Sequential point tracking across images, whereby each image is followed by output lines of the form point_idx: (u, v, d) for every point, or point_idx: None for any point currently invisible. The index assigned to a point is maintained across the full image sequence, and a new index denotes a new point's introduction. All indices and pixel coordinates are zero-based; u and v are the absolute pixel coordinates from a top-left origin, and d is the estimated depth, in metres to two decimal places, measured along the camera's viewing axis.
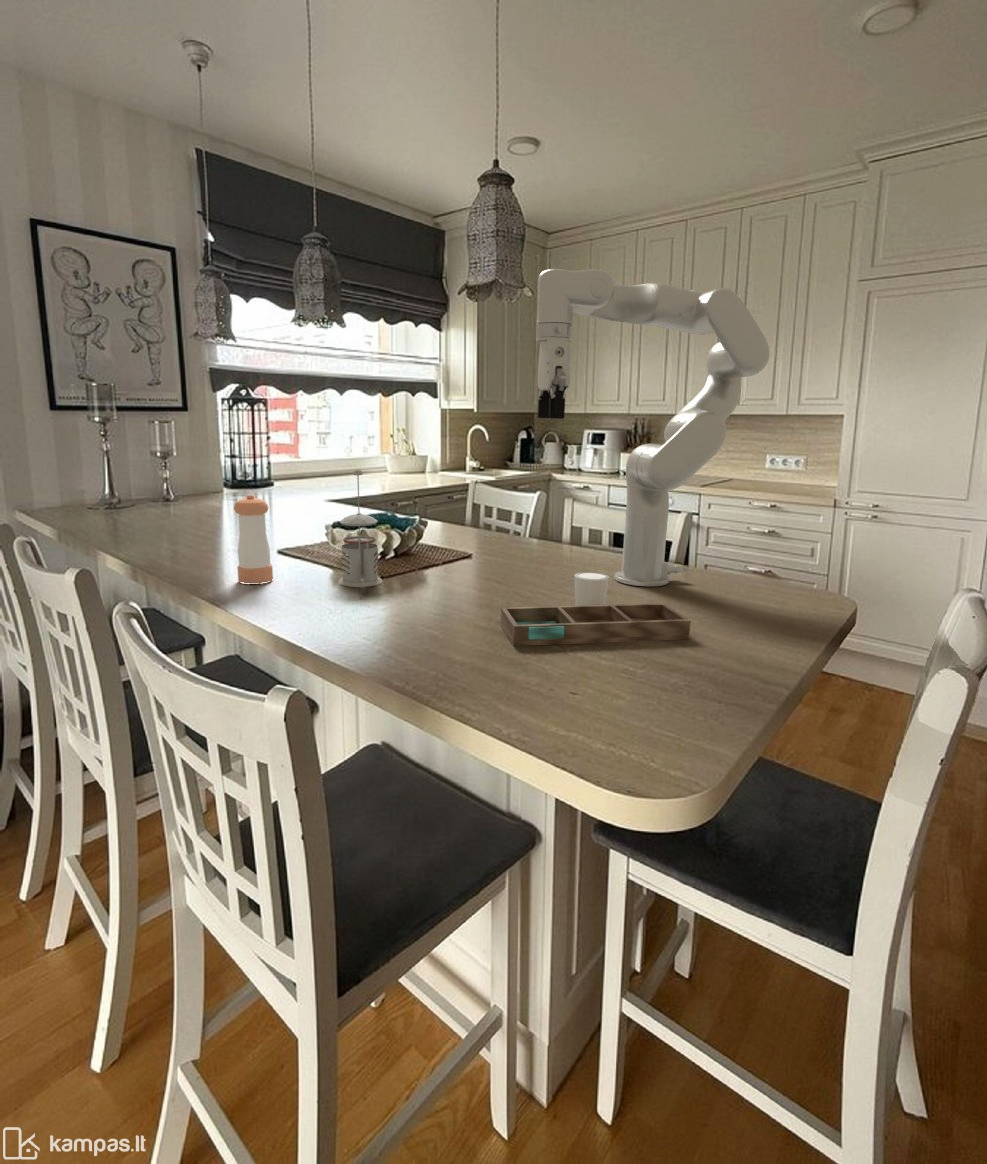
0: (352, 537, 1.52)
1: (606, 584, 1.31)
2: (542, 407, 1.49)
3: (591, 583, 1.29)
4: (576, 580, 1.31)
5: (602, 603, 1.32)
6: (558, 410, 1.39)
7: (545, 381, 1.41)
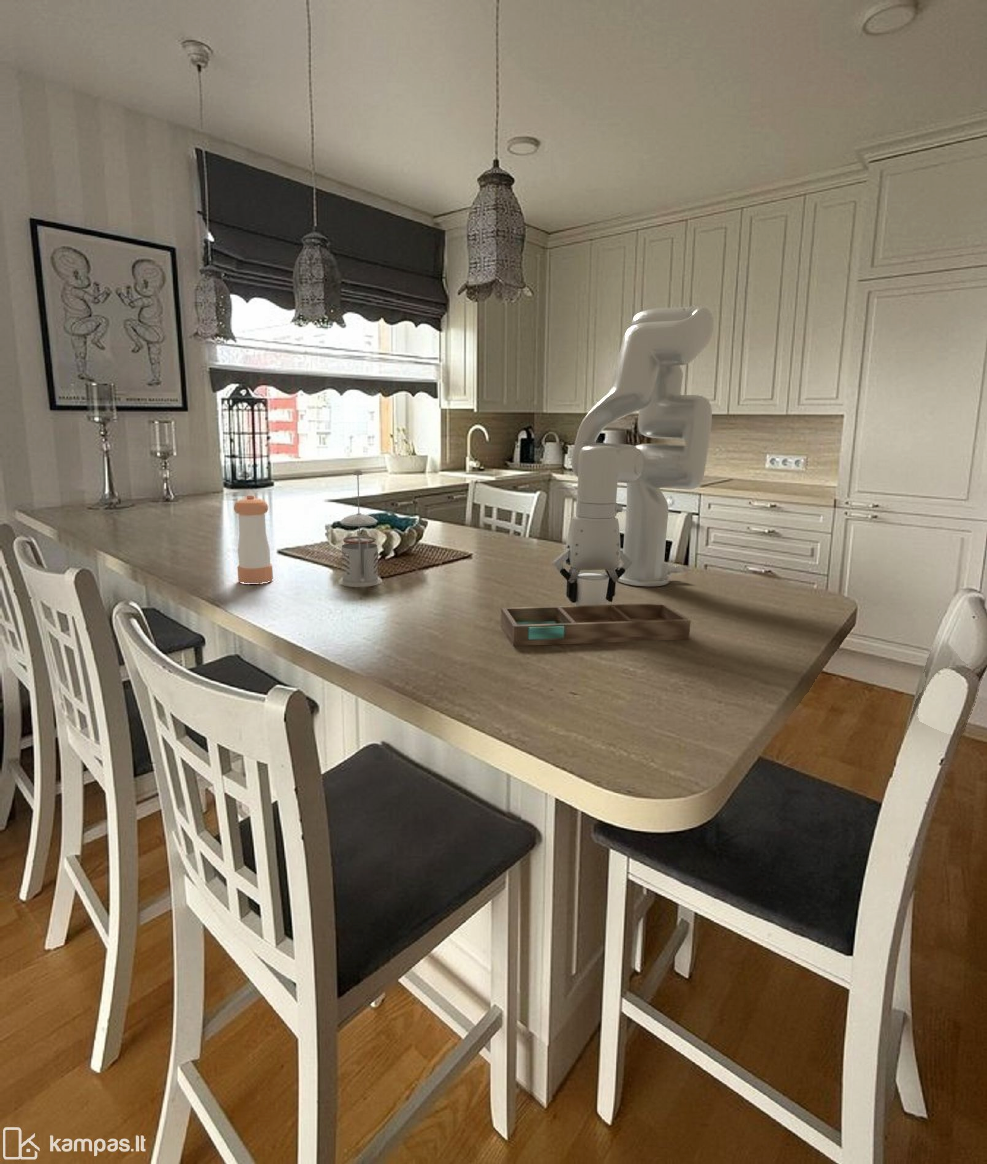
0: (352, 537, 1.52)
1: (606, 584, 1.31)
2: None
3: (591, 583, 1.29)
4: (576, 580, 1.31)
5: (602, 603, 1.32)
6: None
7: (608, 562, 1.30)
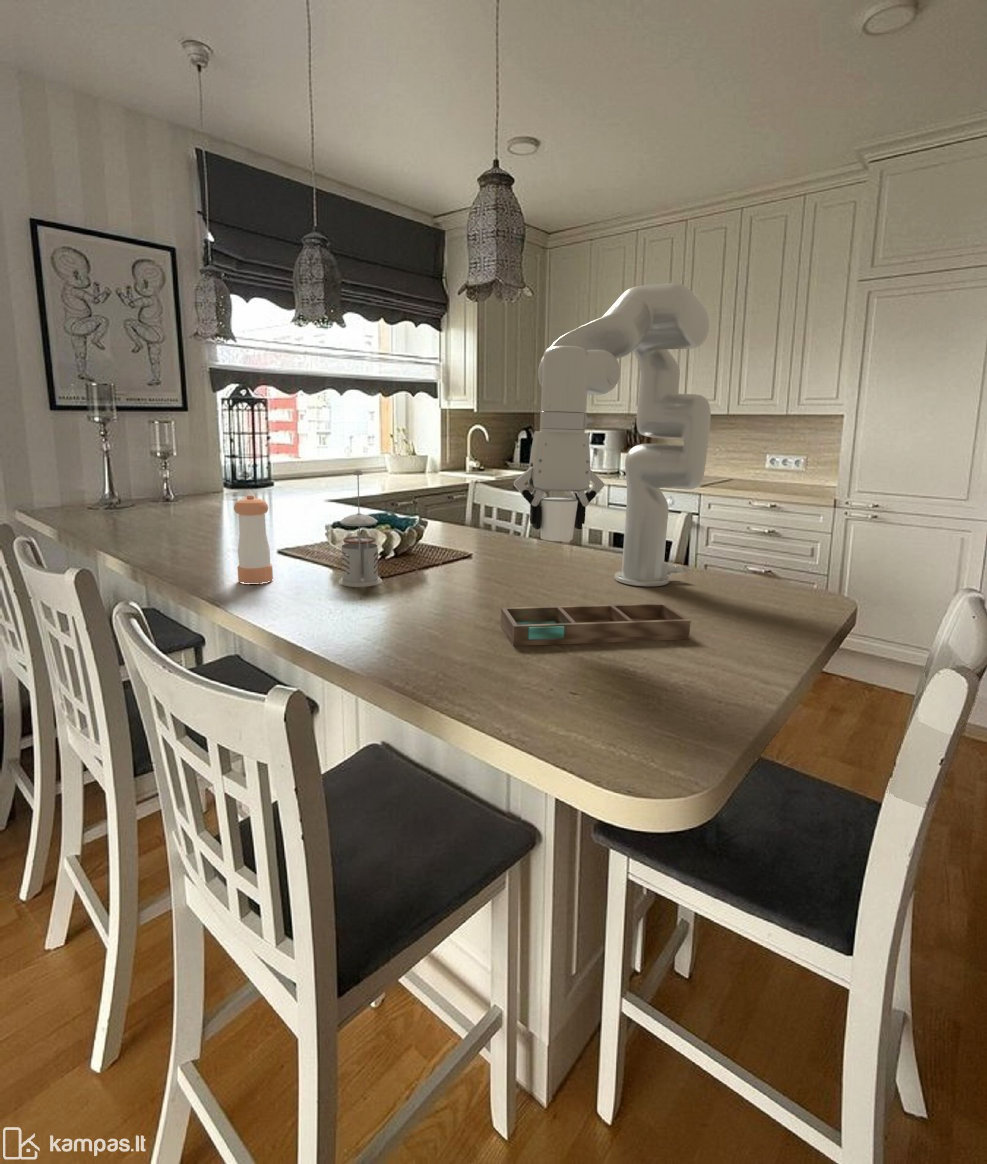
0: (352, 537, 1.52)
1: (574, 507, 1.15)
2: None
3: (557, 505, 1.13)
4: (540, 503, 1.16)
5: (570, 529, 1.16)
6: None
7: (577, 482, 1.14)
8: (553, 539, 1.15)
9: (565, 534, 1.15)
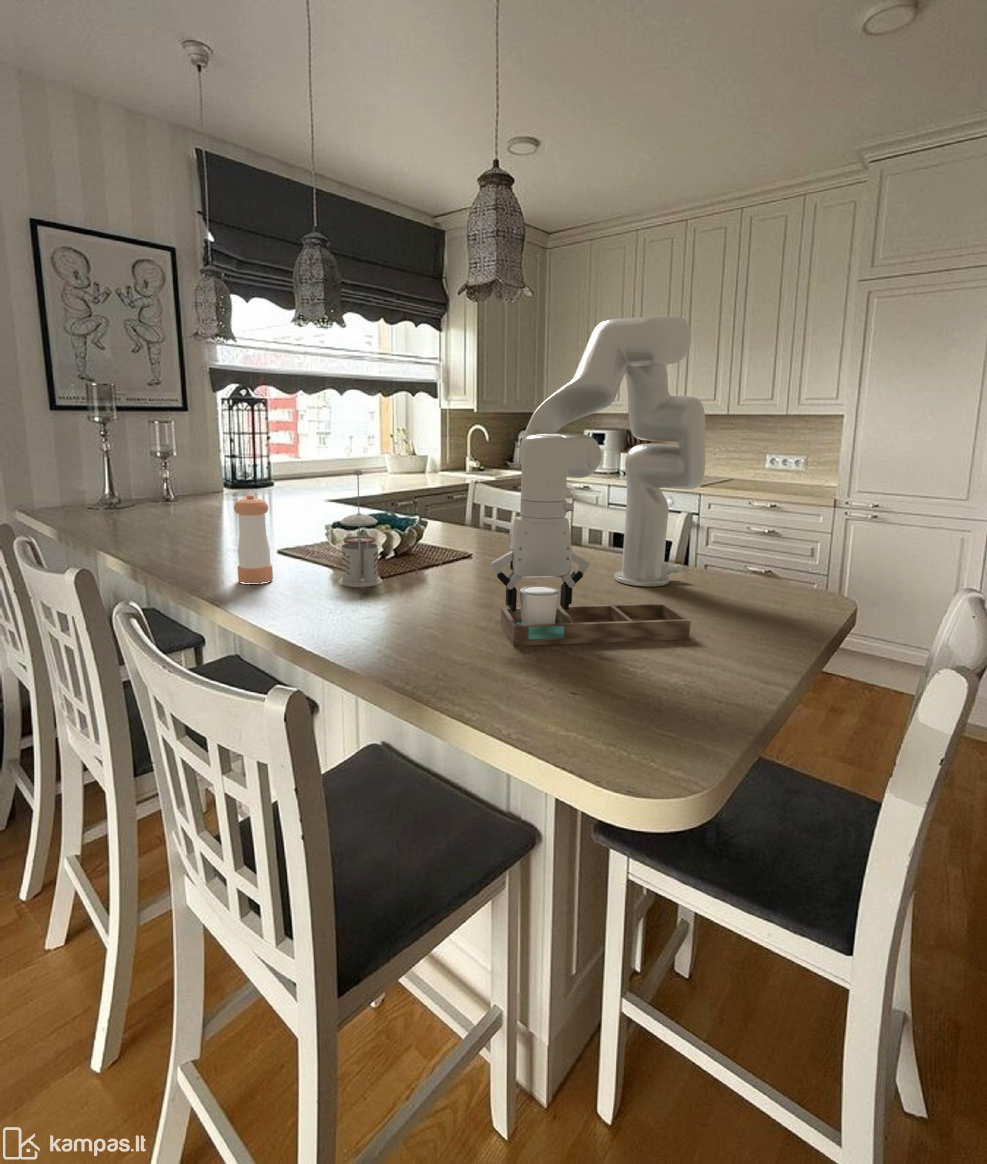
0: (352, 537, 1.52)
1: (555, 600, 1.15)
2: None
3: (537, 599, 1.13)
4: (521, 595, 1.15)
5: (551, 621, 1.16)
6: None
7: (558, 568, 1.13)
8: None
9: None
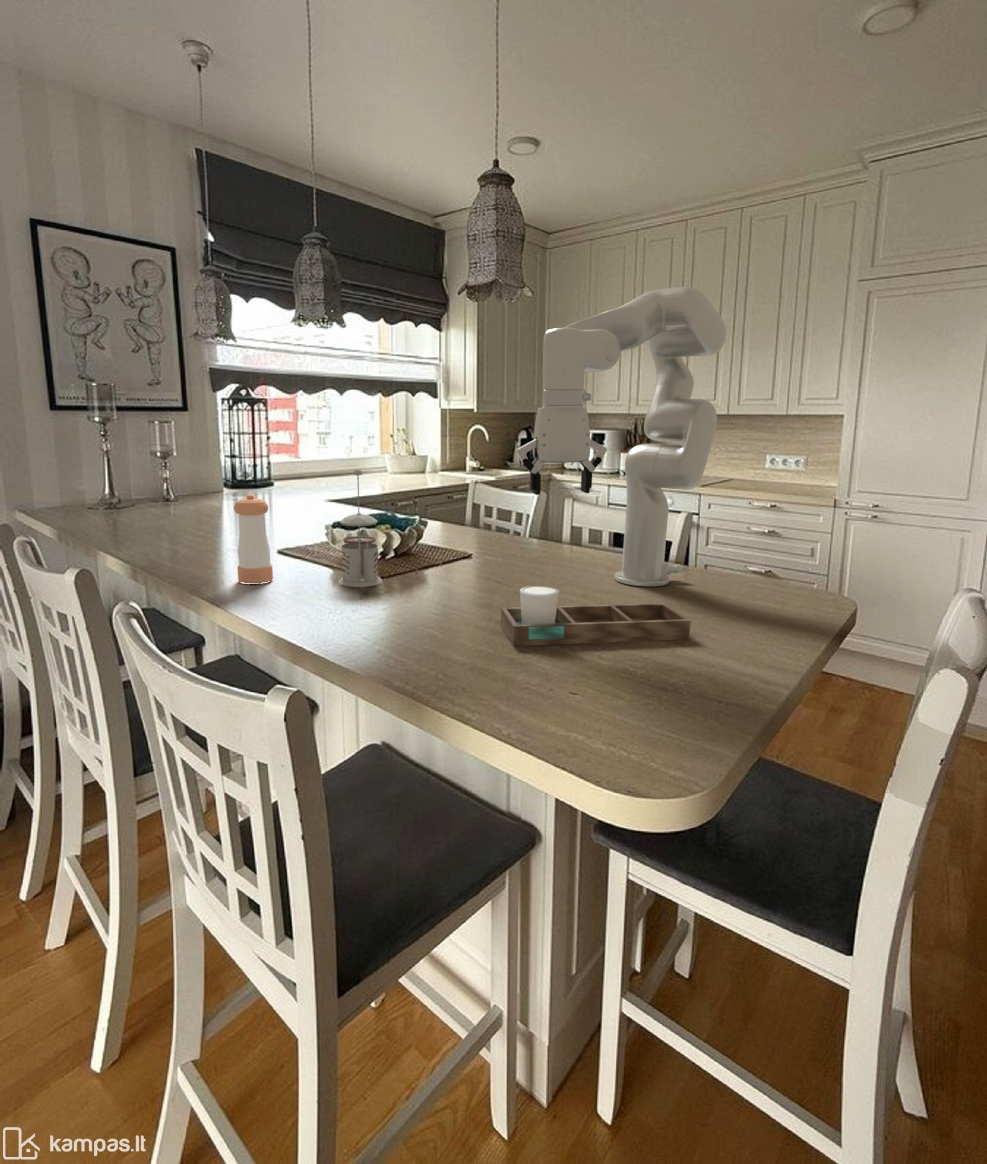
0: (352, 537, 1.52)
1: (555, 600, 1.15)
2: None
3: (537, 599, 1.13)
4: (521, 595, 1.15)
5: (551, 621, 1.16)
6: None
7: (578, 453, 1.24)
8: None
9: None
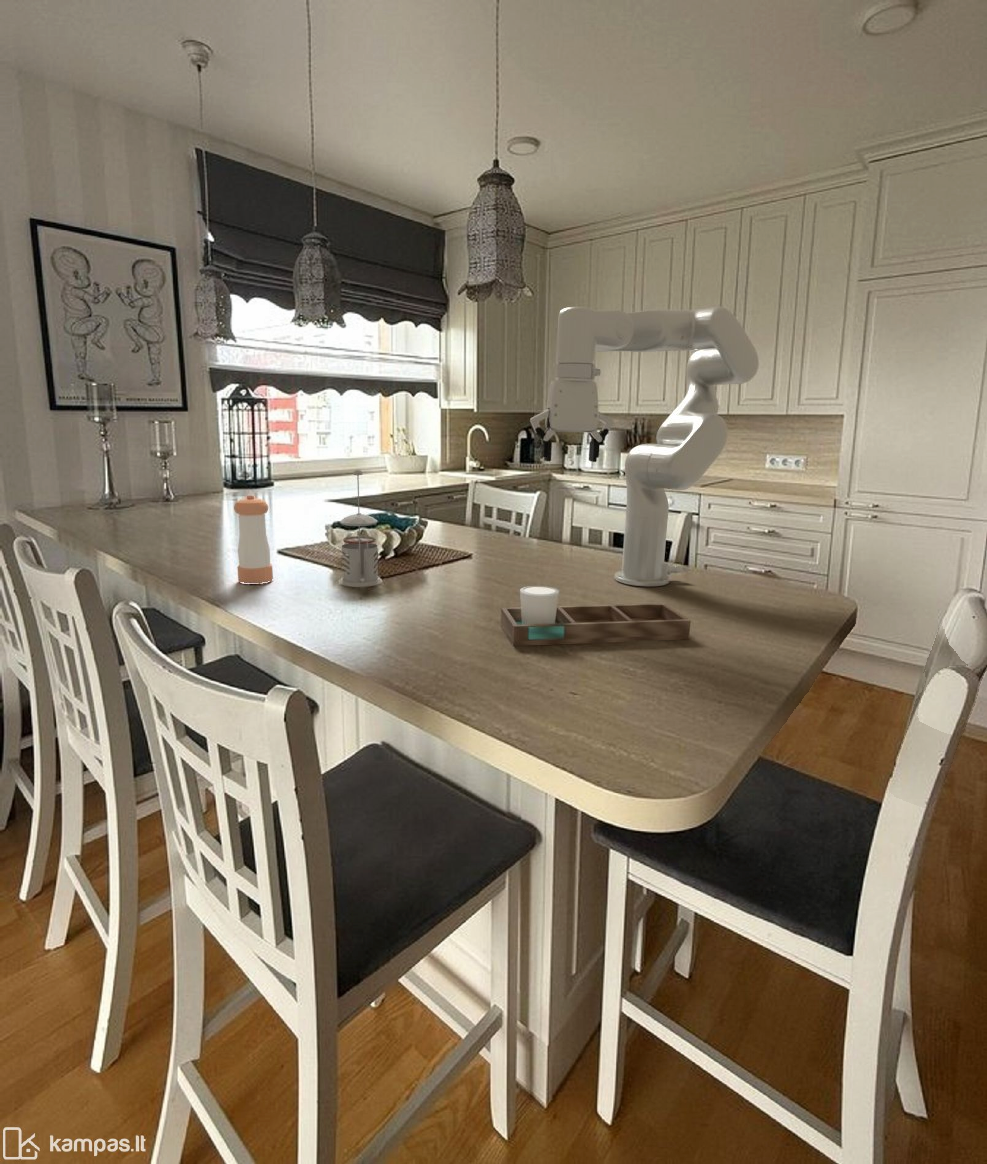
0: (352, 537, 1.52)
1: (555, 600, 1.15)
2: None
3: (537, 599, 1.13)
4: (521, 595, 1.15)
5: (551, 621, 1.16)
6: None
7: (587, 424, 1.35)
8: None
9: None
